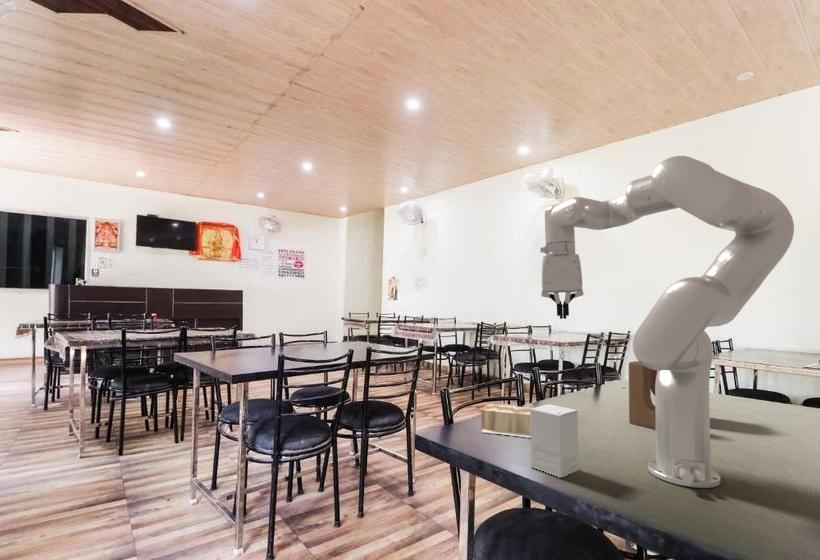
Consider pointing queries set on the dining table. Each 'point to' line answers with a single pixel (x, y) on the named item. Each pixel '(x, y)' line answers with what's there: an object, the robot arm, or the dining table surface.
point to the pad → (506, 433)
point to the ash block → (506, 418)
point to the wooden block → (640, 396)
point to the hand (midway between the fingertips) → (563, 318)
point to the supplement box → (554, 439)
